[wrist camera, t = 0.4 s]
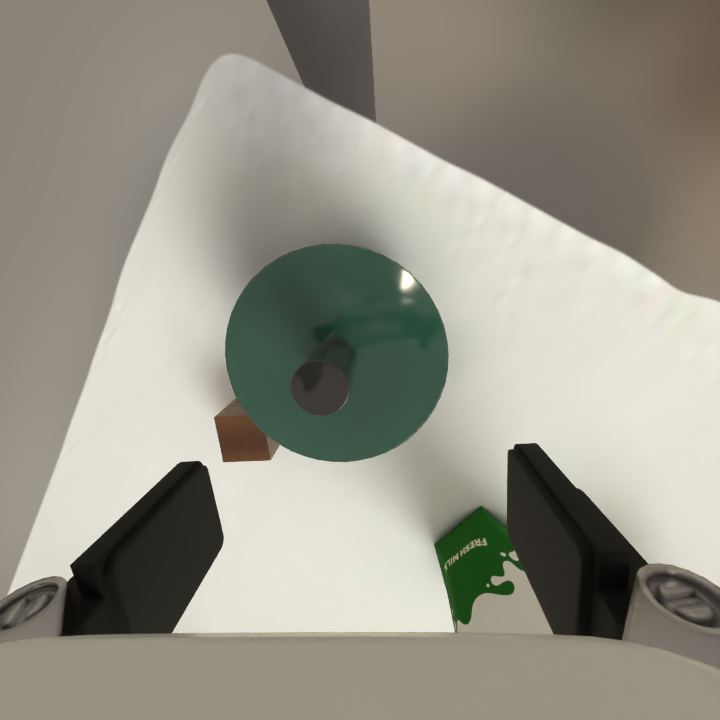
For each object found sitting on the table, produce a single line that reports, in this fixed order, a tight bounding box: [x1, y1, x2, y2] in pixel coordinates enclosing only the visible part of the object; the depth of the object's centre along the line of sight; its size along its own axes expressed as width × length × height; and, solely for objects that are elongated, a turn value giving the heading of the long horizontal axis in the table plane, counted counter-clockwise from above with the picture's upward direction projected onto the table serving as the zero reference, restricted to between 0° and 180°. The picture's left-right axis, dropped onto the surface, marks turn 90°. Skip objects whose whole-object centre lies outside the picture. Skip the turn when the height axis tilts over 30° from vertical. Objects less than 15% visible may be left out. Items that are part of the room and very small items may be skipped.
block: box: [214, 399, 280, 462], centre depth 33 cm, size 4×4×4 cm
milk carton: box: [435, 506, 553, 634], centre depth 27 cm, size 9×9×20 cm
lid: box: [225, 244, 449, 462], centre depth 20 cm, size 15×15×6 cm
